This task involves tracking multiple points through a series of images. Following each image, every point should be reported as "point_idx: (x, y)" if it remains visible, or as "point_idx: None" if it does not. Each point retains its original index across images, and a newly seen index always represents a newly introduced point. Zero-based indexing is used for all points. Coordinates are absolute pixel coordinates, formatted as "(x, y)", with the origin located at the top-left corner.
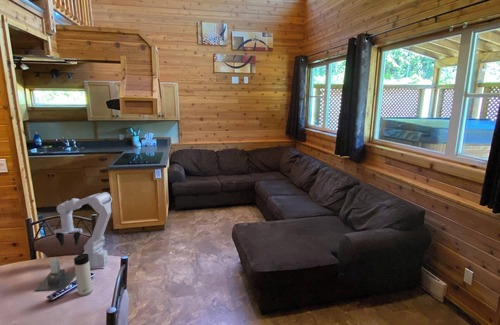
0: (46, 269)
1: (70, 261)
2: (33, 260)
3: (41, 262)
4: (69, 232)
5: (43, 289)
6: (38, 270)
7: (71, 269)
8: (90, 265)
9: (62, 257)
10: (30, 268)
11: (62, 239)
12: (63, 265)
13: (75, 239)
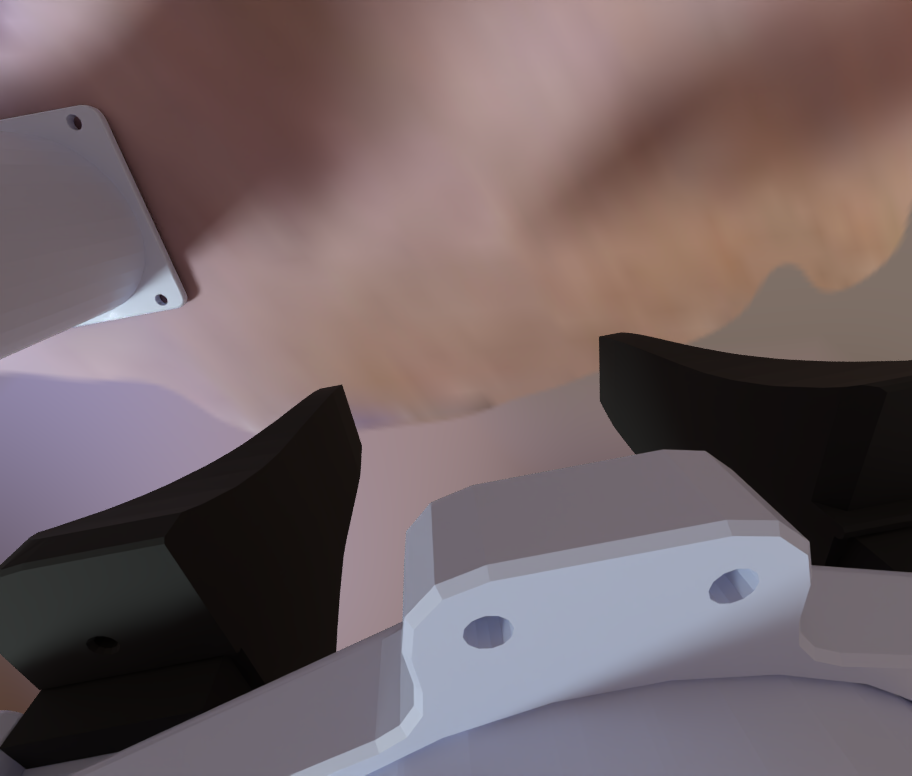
0: (650, 59)
1: (457, 283)
2: (877, 262)
3: (777, 229)
4: (317, 694)
5: None
6: (744, 22)
7: (313, 86)
8: (36, 141)
9: (595, 352)
10: (861, 71)
11: (670, 434)
12: (486, 184)
13: (257, 451)
